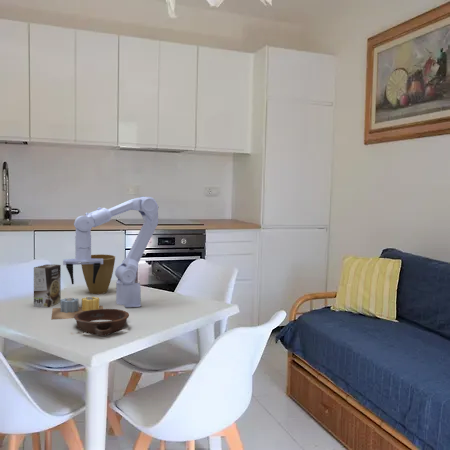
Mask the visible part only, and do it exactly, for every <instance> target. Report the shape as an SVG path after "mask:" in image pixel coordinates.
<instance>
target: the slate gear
mask: <svg viewBox="0 0 450 450" xmlns="http://www.w3.org/2000/svg"><path fill="white" fill-rule="evenodd" d="M67 298H68V297H66V298H64V299H63V298H61V303H60V308H61V312H65V313H68V312H75V311H78V307H79V298H75V297H71V298H72V301H67Z"/></svg>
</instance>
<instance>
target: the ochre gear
mask: <svg viewBox="0 0 450 450" xmlns="http://www.w3.org/2000/svg"><path fill="white" fill-rule="evenodd" d="M87 297H88V296H85V297H81V307H82V311H88V310H96V309H99V306H100V297H97V296H96V297H95V296H91V297H92V300H87Z"/></svg>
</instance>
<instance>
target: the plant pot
mask: <svg viewBox="0 0 450 450" xmlns="http://www.w3.org/2000/svg"><path fill="white" fill-rule="evenodd" d="M91 258H98V259H102V258H103V264H100V268H99V270H98V273H97V276H96V279H95V283H93V264H80V266H81V270H82V274H83V278H84V281H85V284H86V287H87V290H88V292H89V294H91V295H104V294H107V293H108V290H109V287H110V285H111V281H112V277H113V273H114V269H115V262H116V261H115V260H116V256H115V255H112V254H104V253H103V254H98V253H97V254H91ZM86 263H89V262H86Z"/></svg>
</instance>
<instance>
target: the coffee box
mask: <svg viewBox="0 0 450 450" xmlns="http://www.w3.org/2000/svg"><path fill="white" fill-rule="evenodd" d="M61 265H62V264H43V265H38V266H35V267H33V307H35V308H48V309H49V308H51V307H53V306H56V305H57V304H61V299H62V298H61V296H62V295H61V292H62V291H61V288H62V286H61V284H62V283H61V282H62V281H61V278H62V277H61V273H62V272H61V269H62V268H61Z"/></svg>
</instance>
